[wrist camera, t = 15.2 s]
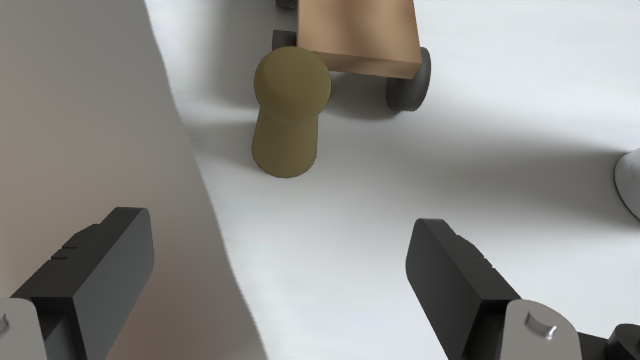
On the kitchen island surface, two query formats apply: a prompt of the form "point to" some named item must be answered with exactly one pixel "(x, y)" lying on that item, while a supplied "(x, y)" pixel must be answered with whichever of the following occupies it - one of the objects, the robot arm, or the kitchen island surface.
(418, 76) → the trolley
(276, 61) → the cork
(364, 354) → the kitchen island surface
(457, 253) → the robot arm
